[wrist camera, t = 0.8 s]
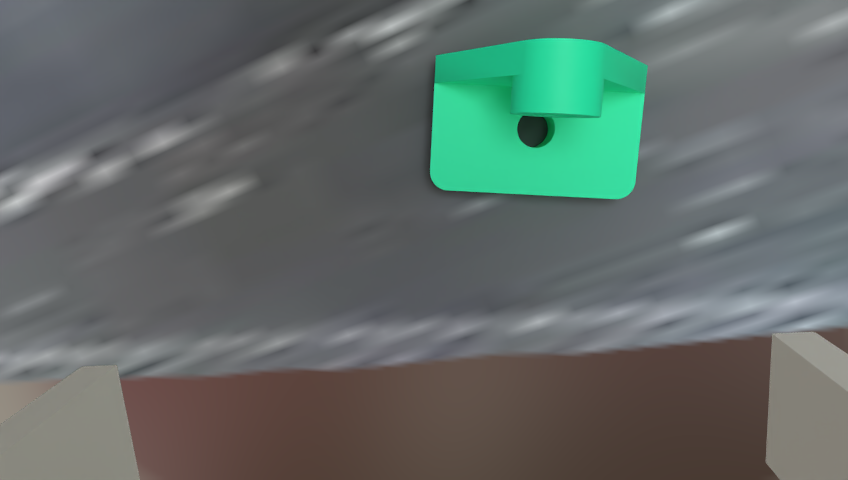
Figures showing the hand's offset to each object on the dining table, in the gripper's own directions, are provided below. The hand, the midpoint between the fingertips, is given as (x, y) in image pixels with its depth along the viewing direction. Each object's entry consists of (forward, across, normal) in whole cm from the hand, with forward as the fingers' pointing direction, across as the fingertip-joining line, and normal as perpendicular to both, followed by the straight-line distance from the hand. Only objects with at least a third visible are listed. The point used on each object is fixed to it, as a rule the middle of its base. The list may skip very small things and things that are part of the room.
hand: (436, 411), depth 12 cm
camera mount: (+28, +5, +4) cm, 29 cm away
